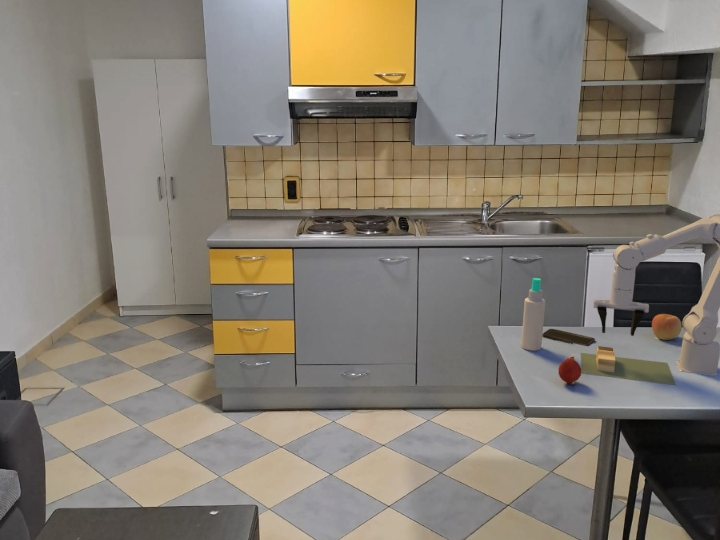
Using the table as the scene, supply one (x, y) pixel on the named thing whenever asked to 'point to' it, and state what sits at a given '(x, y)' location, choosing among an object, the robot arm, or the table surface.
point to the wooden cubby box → (605, 359)
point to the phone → (568, 337)
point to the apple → (666, 326)
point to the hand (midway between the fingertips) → (617, 333)
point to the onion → (569, 370)
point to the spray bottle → (533, 318)
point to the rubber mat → (630, 369)
